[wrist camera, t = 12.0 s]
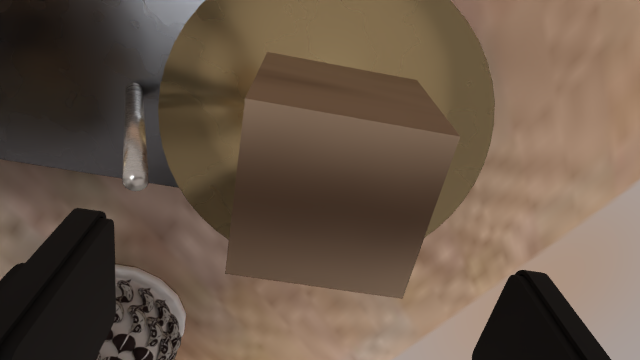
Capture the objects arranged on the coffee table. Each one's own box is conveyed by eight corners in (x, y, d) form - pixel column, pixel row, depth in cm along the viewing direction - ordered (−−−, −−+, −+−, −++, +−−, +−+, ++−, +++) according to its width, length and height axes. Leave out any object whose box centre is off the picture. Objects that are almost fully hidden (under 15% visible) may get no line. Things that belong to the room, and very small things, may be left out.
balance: (415, 230, 27) (479, 415, 16) (-133, 144, 24) (-488, 298, 14) (501, -16, 21) (696, 22, 10) (-230, -173, 18) (-1041, -353, 7)
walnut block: (379, 207, 20) (402, 298, 15) (249, 186, 20) (225, 273, 15) (417, 79, 18) (460, 136, 12) (267, 51, 17) (245, 98, 12)
